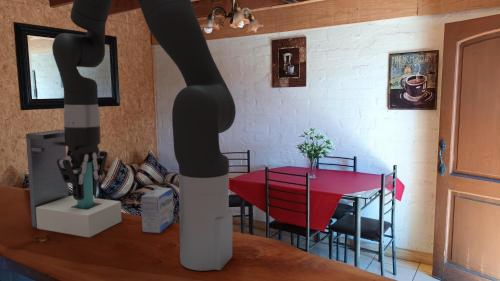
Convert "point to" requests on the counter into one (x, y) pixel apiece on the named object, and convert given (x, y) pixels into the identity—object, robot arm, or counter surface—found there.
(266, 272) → the counter surface
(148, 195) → the medicine box
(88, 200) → the peg
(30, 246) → the counter surface
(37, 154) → the grey upright panel
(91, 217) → the socket
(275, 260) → the counter surface
